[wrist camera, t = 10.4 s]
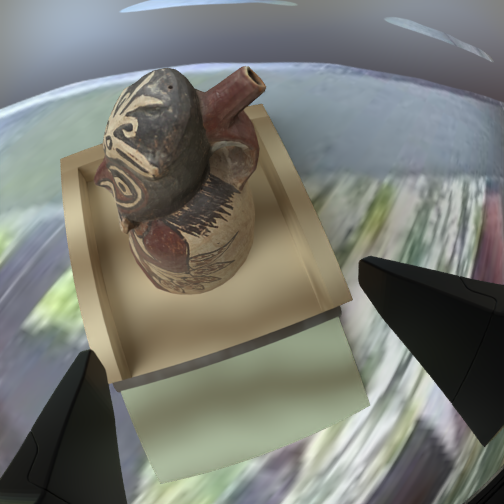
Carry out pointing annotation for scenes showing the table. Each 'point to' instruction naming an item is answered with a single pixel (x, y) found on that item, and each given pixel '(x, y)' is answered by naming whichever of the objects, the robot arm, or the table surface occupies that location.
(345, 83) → the table surface
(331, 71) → the table surface
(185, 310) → the shallow wooden tray
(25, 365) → the table surface
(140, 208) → the figurine
